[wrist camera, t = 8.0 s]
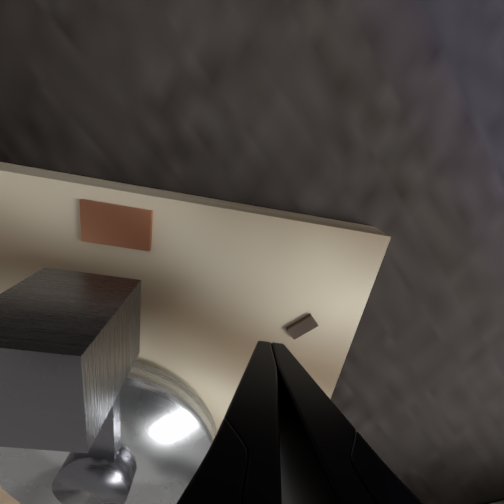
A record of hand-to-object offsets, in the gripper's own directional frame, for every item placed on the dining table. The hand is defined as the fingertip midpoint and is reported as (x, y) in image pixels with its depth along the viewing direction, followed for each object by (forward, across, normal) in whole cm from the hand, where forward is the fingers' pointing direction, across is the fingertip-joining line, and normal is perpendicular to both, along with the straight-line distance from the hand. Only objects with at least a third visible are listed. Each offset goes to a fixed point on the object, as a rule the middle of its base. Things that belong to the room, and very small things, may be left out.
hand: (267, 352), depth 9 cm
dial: (+2, +6, +6) cm, 9 cm away
